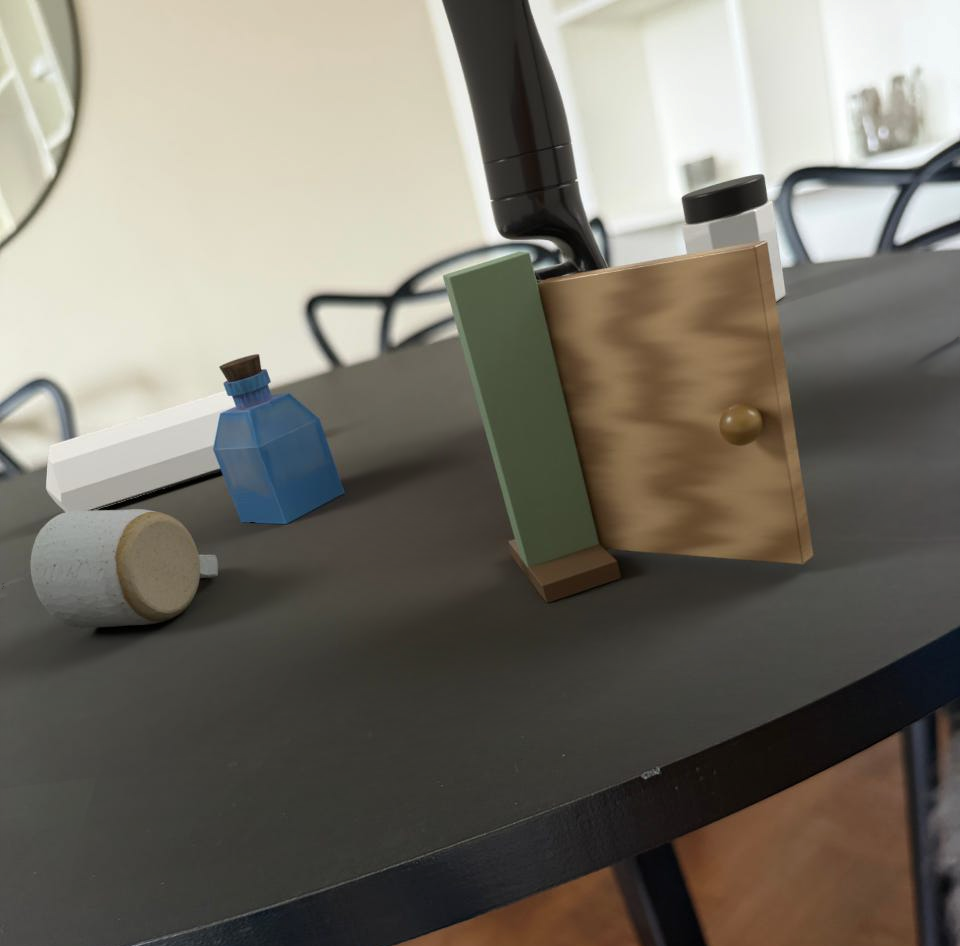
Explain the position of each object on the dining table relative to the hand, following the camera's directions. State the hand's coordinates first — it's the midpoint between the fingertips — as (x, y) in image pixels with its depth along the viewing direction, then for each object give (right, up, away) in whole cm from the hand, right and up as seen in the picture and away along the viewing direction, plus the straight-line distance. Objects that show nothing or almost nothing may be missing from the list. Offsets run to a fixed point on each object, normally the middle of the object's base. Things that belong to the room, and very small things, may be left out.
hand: (723, 359), depth 53 cm
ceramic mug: (-34, -13, +15) cm, 40 cm away
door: (-3, -11, -3) cm, 11 cm away
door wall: (-8, -11, +2) cm, 14 cm away
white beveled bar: (-44, +1, +51) cm, 67 cm away
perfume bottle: (-28, -4, +29) cm, 41 cm away
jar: (+14, +20, +53) cm, 58 cm away
